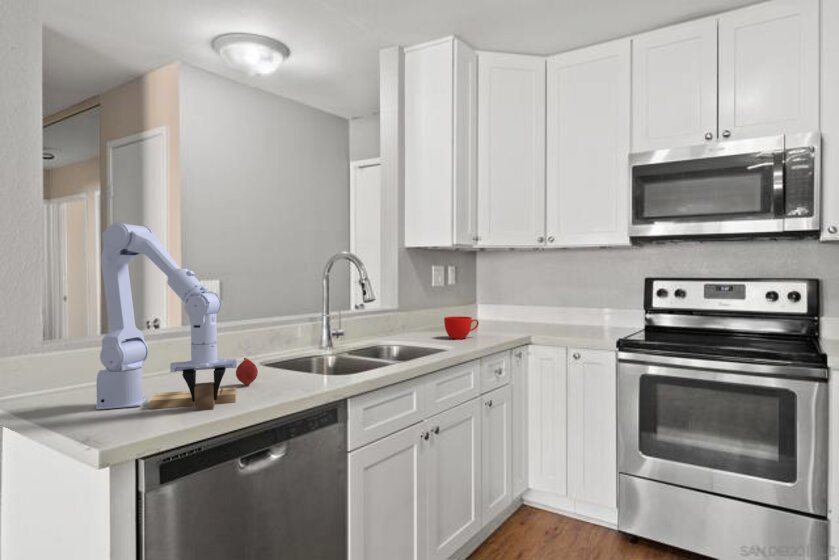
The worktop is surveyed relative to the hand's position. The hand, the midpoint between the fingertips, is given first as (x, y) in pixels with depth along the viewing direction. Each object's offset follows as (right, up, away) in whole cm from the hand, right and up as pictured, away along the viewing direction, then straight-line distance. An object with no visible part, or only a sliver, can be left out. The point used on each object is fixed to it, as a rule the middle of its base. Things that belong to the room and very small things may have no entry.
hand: (205, 400), depth 122 cm
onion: (+2, -2, +23) cm, 24 cm away
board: (-5, -2, +5) cm, 7 cm away
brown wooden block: (-1, -2, +2) cm, 3 cm away
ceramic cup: (+71, +1, +121) cm, 141 cm away
